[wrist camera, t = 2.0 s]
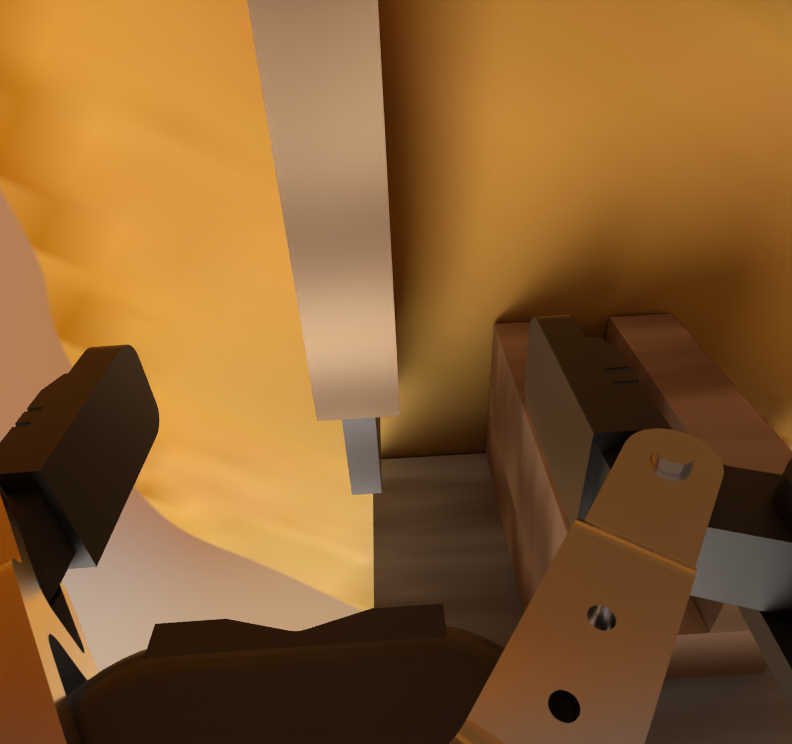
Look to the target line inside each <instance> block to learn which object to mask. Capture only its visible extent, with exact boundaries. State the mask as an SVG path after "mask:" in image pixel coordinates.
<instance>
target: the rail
mask: <svg viewBox="0 0 792 744" xmlns="http://www.w3.org/2000/svg"><path fill="white" fill-rule="evenodd" d="M247 2H248V8H249V14H250V20H251V26H252V32H253V38H254V44H255V50H256V56H257V62H258V68H259V74H260V80H261V86H262V92H263V98H264V104H265V110H266V116H267V122H268V128H269V134H270V140H271V146H272V152H273V158H274V164H275V170H276V176H277V182H278V188H279V194H280V200H281V206H282V212H283V218H284V224H285V230H286V236H287V242H288V248H289V254H290V260H291V266H292V272H293V278H294V284H295V290H296V296H297V302H298V308H299V314H300V320H301V326H302V332H303V338H304V344H305V350H306V356H307V362H308V368H309V374H310V380H311V386H312V392H313V398H314V404H315V410H316V416H317V421H323V420H340V419H342V422H343V430H344V437H345V445H346V452H347V460H348V468H349V475H350V483H351V490H352V495H357V494H374V493H382V481H381V438H380V417H391V416H400V406H399V388H398V369H397V350H396V331H395V313H394V294H393V275H392V256H391V237H390V219H389V200H388V181H387V162H386V144H385V125H384V106H383V87H382V69H381V50H380V31H379V12H378V0H247Z"/></svg>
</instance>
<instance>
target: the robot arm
mask: <svg viewBox="0 0 792 744" xmlns="http://www.w3.org/2000/svg"><path fill="white" fill-rule="evenodd" d="M524 388H525V399H526V405H527V409H528V412H529V414H530V417H531V420H532V422H533V425H534V428H535V430H536V433H537V436H538V438H539V441H540V444H541V447H542V449H543V452H544V455H545V457H546V460H547V463H548V465H549V468H550V471H551V473H552V476H553V479H554V481H555V484H556V487H557V490H558V492H559V495H560V498H561V500H562V503H563V506H564V508H565V511H566V514H567V516H568V519H569V522H570V524H571V528H570V529H569V531H568V533H567V535H566V537H565V538H564V540H563V542H562V544H561V546H560V548H559V549H558V551H557V553H556V555H555V557H554V559H553V561H552V562H551V564H550V566H549V568H548V570H547V572H546V573H545V575H544V577H543V579H542V581H541V583H540V585H539V586H538V588H537V590H536V592H535V594H534V596H533V597H532V599H531V601H530V603H529V605H528V607H527V609H526V610H525V612H524V614H523V616H522V618H521V620H520V621H519V623H518V625H517V627H516V629H515V631H514V633H513V634H512V636H511V638H510V640H509V642H508V644H507V645H506V647H505V648H504V647H502V646H501V645H499V644H497V643H496V642H494V641H492V640H490V639H487V638H485V637H483V636H481V635H478V634H476V633H473V632H470V631H466V630H463V629H460V628H455V627H450V626H446V623H445V615H444V606H443V603H441V604H427V605H413V606H399V607H385V608H372V609H369V610H366V611H363V612H360V613H356V614H353V615H350V616H347V617H344V618H341V619H338V620H334V621H331V622H328V623H325V624H322V625H319V626H316V627H312V628H310V629H306V630H302V631H287V630H282V629H277V628H272V627H266V626H261V625H256V624H250V623H245V622H240V621H235V620H229V619H219V620H204V621H191V622H176V623H163V624H155V626H154V629H153V632H152V636H151V639H150V642H149V645H148V648H147V649H146V650H143V651H140V652H137V653H135V654H133V655H131V656H128V657H126V658H124V659H122V660H120V661H118V662H116V663H114V664H112V665H111V666H109V667H107V668H105V669H104V670H102V671H101V672H99V671H98V669H97V666H96V664H95V662H94V659H93V657H92V654H91V651H90V649H89V646H88V644H87V641H86V638H85V636H84V633H83V631H82V628H81V625H80V623H79V620H78V618H77V615H76V613H75V610H74V607H73V605H72V602H71V600H70V597H69V595H68V592H67V590H66V589H65V587H64V585H63V584H62V582H61V581H62V579H63V577H64V575H65V573H66V571H67V569H73V568H86V567H97V565H98V562H99V560H100V558H101V556H102V554H103V552H104V549H105V547H106V545H107V543H108V541H109V538H110V536H111V534H112V532H113V530H114V527H115V525H116V523H117V521H118V519H119V516H120V514H121V512H122V510H123V508H124V506H125V503H126V501H127V499H128V497H129V495H130V493H131V490H132V488H133V486H134V484H135V482H136V480H137V477H138V475H139V473H140V471H141V469H142V467H143V464H144V462H145V460H146V458H147V456H148V453H149V451H150V449H151V447H152V445H153V443H154V440H155V438H156V436H157V433H158V429H159V412H158V407H157V404H156V401H155V399H154V396H153V393H152V391H151V388H150V386H149V383H148V380H147V378H146V375H145V373H144V370H143V367H142V365H141V362H140V360H139V357H138V355H137V353H136V351H135V349H134V348H133V347H132V346H130V345H117V346H102V347H91V348H88V349H87V350H86V351H85V352H84V353H83V355H82V356H81V357H80V358H79V360H78V361H77V362H76V364H75V365H74V366H73V368H72V369H71V371H70V372H69V373H68V374H63V375H62V376H60V377H59V378H58V379H56V380H55V381H54V382H52V383H51V384H49V385H48V386H47V387H45V388H44V389H42V390H41V391H40V393H39V394H38V395H37V397H36V398H35V399H34V400H33V402H32V403H31V404H30V405H29V407H28V408H27V409H28V411H27V412H24V413H23V414H22V415H21V417H20V418H19V419H18V421H17V422H16V427H12V428H11V429H10V431H9V432H8V433H7V435H6V436H5V437H4V438H3V440H2V441H1V442H0V744H645V741H646V738H647V734H648V731H649V728H650V725H651V721H652V718H653V715H654V711H655V708H656V705H657V702H658V698H659V695H660V692H661V688H662V685H663V682H664V678H665V675H666V672H667V669H668V665H669V662H670V659H671V655H672V652H673V649H674V645H675V642H676V639H677V636H678V632H679V629H680V626H681V622H682V619H683V616H684V612H685V609H686V606H687V603H688V599H689V596H690V595H691V596H696V597H700V598H705V599H709V600H714V601H718V602H723V603H728V604H732V605H737V606H738V608H739V610H740V612H741V614H742V616H743V618H744V620H745V622H746V624H747V626H748V628H749V629H750V631H751V633H752V635H753V637H754V639H755V641H756V643H757V645H758V647H759V649H760V651H761V653H762V654H763V656H764V658H765V660H766V662H767V664H768V666H769V668H770V670H771V672H772V674H773V676H774V678H775V679H776V681H777V683H778V685H779V687H780V689H781V691H782V693H783V695H784V697H785V699H786V701H787V703H788V704H789V706H790V708H791V710H792V459H791V460H790V461H789V462H788V464H787V466H786V468H785V470H784V472H783V474H782V475H781V474H775V473H768V472H762V471H756V470H749V469H743V468H737V467H732V466H727V465H724V464H722V461H721V459H720V458H719V456H718V455H717V453H716V452H715V451H714V450H713V449H712V448H711V447H709V446H708V445H707V444H706V443H704V442H702V441H701V440H699V439H697V438H695V437H693V436H691V435H689V434H686V433H683V432H680V431H676V430H672V428H671V427H670V425H669V424H668V422H667V421H666V419H665V418H664V416H663V415H662V413H661V412H660V410H659V409H658V408H657V406H656V405H655V403H654V402H653V400H652V399H651V397H650V396H649V394H648V393H647V391H646V390H645V388H644V387H643V385H642V384H639V379H638V378H637V376H636V375H635V373H634V372H633V371H632V370H630V366H629V365H628V363H627V362H626V360H625V359H624V357H623V356H622V354H621V353H620V351H619V350H618V349H616V348H615V347H613V346H612V345H610V344H609V343H607V342H606V341H604V340H603V339H601V338H600V337H589V338H586V337H585V336H584V334H583V332H582V331H581V329H580V327H579V326H578V324H577V322H576V321H575V319H574V318H573V316H572V315H570V314H568V315H553V316H539V317H533V318H532V319H531V322H530V327H529V337H528V348H527V359H526V369H525V381H524Z"/></svg>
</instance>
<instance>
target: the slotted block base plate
mask: <svg viewBox="0 0 792 744" xmlns="http://www.w3.org/2000/svg"><path fill="white" fill-rule="evenodd" d="M529 327H530V322H516V323H499V324H494V334H493V349H492V364H491V379H490V394H489V410H488V425H487V440H486V453H479V454H462V455H446V456H429V457H412V458H396V459H381V481H382V493H374V494H373V526H374V608H385V607H399V606H413V605H427V604H441V603H443V606H444V615H445V623H446V626H450V627H455V628H460V629H463V630H466V631H470V632H473V633H476V634H478V635H481V636H483V637H485V638H487V639H490V640H492V641H494V642H496V643H497V644H499V645H501V646H502V647H504V648H505V647H506V645H507V644H508V642H509V640H510V638H511V636H512V634H513V633H514V631H515V629H516V627H517V625H518V623H519V621H520V620H521V618H522V616H523V614H524V612H525V610H526V609H527V607H528V605H529V603H530V601H531V599H532V597H533V596H534V594H535V592H536V590H537V588H538V586H539V585H540V583H541V581H542V579H543V577H544V575H545V573H546V572H547V570H548V568H549V566H550V564H551V562H552V561H553V559H554V557H555V555H556V553H557V551H558V549H559V548H560V546H561V544H562V542H563V540H564V538H565V537H566V535H567V533H568V531H569V529H570V528H571V524H570V522H569V519H568V516H567V514H566V511H565V508H564V506H563V503H562V500H561V498H560V495H559V492H558V490H557V487H556V484H555V481H554V479H553V476H552V473H551V471H550V468H549V465H548V463H547V460H546V457H545V455H544V452H543V449H542V447H541V444H540V441H539V438H538V436H537V433H536V430H535V428H534V425H533V422H532V420H531V417H530V414H529V412H528V409H527V405H526V399H525V388H524V381H525V369H526V359H527V348H528V337H529ZM605 341H606V342H607V343H609V344H610V345H612V346H613V347H615V348H616V349H618V350H619V351H620V353H621V354H622V356H623V357H624V359H625V360H626V362H627V363H628V365H629V366H630V370H632V371H633V372H634V373H635V375H636V376H637V378H638V379H639V384H642V385H643V387H644V388H645V390H646V391H647V393H648V394H649V396H650V397H651V399H652V400H653V402H654V403H655V405H656V406H657V408H658V409H659V410H660V412H661V413H662V415H663V416H664V418H665V419H666V421H667V422H668V424H669V425H670V427H671V428H672V430H676V431H680V432H683V433H686V434H689V435H691V436H693V437H695V438H697V439H699V440H701V441H702V442H704V443H706V444H707V445H708V446H709V447H711V448H712V449H713V450H714V451H715V452H716V453H717V455H718V456H719V458H720V459H721V461H722V464H724V465H727V466H732V467H737V468H743V469H749V470H756V471H762V472H768V473H775V474H781V475H782V474H783V472H784V470H785V468H786V466H787V464H788V462H789V461H790V460H791V459H792V451H791V450H790V448H789V447H788V446H787V445H786V444H785V443H784V442H783V440H782V439H781V438H780V437H779V436H778V435H777V434H776V432H775V431H774V430H773V429H772V428H771V427H770V426H769V424H768V423H767V422H766V421H765V420H764V419H763V418H762V416H761V415H760V414H759V413H758V412H757V411H756V409H755V408H754V407H753V406H752V405H751V404H750V403H749V401H748V400H747V399H746V398H745V397H744V396H743V395H742V393H741V392H740V391H739V390H738V389H737V388H736V387H735V385H734V384H733V383H732V382H731V381H730V380H729V379H728V377H727V376H726V375H725V374H724V373H723V372H722V371H721V369H720V368H719V367H718V366H717V365H716V364H715V362H714V361H713V360H712V359H711V358H710V357H709V356H708V354H707V353H706V352H705V351H704V350H703V349H702V348H701V346H700V345H699V344H698V343H697V342H696V341H695V340H694V338H693V337H692V336H691V335H690V334H689V333H688V332H687V330H686V329H685V328H684V327H683V326H682V325H681V324H680V322H679V321H678V320H677V319H676V318H675V317H674V316H673V314H672V313H669V314H652V315H635V316H618V317H609V322H608V327H607V332H606V337H605ZM645 744H792V710H791V708H790V706H789V704H788V703H787V701H786V699H785V697H784V695H783V693H782V691H781V689H780V687H779V685H778V683H777V681H776V679H775V678H774V676H773V674H772V672H771V670H770V668H769V666H768V664H767V662H766V660H765V658H764V656H763V654H762V653H761V651H760V649H759V647H758V645H757V643H756V641H755V639H754V637H753V635H752V633H751V631H750V629H749V628H748V626H747V624H746V622H745V620H744V618H743V616H742V614H741V612H740V610H739V608H738V606H737V605H732V604H728V603H723V602H718V601H714V600H709V599H705V598H700V597H696V596H691V595H690V596H689V599H688V603H687V606H686V609H685V612H684V616H683V619H682V622H681V626H680V629H679V632H678V636H677V639H676V642H675V645H674V649H673V652H672V655H671V659H670V662H669V665H668V669H667V672H666V675H665V678H664V682H663V685H662V688H661V692H660V695H659V698H658V702H657V705H656V708H655V711H654V715H653V718H652V721H651V725H650V728H649V731H648V734H647V738H646V741H645Z"/></svg>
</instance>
